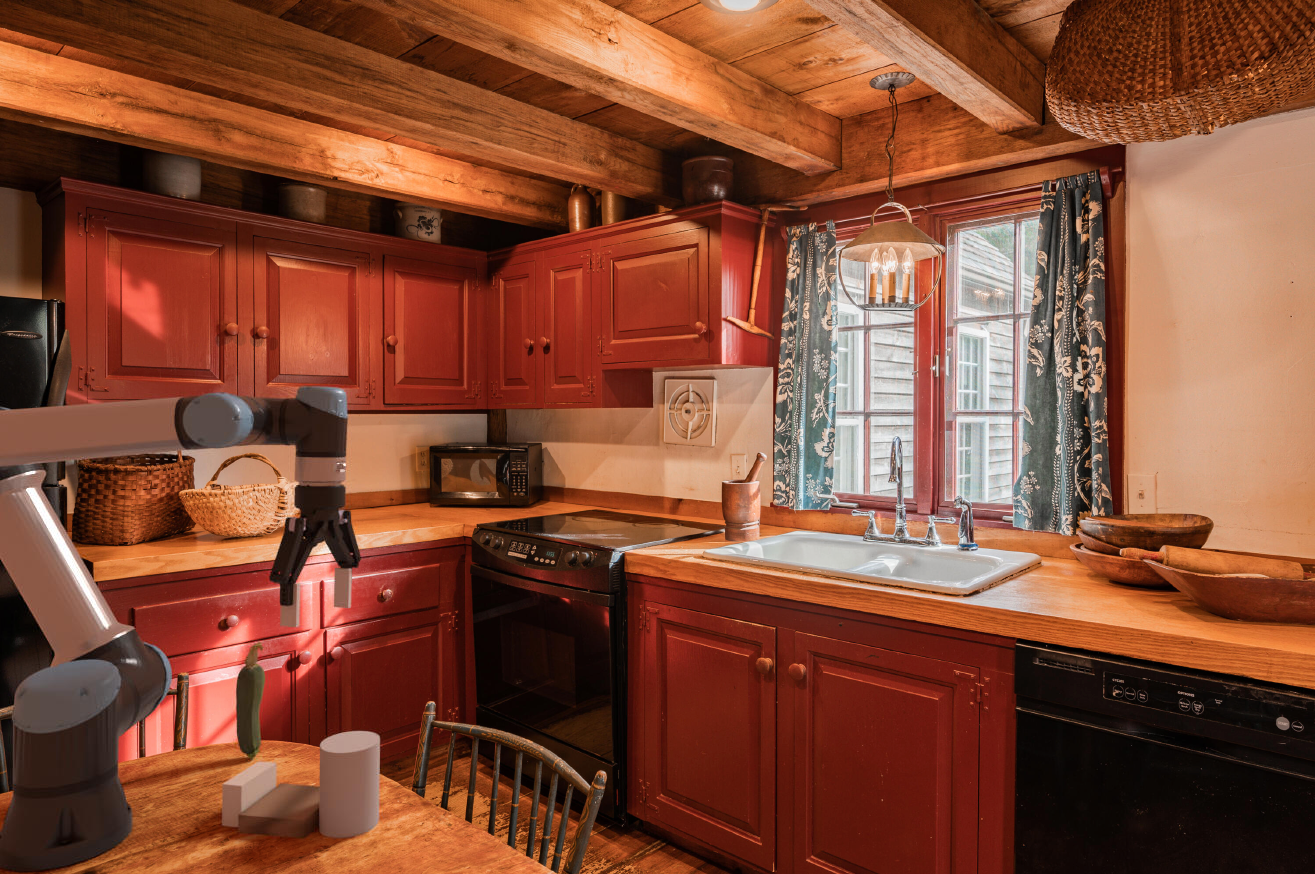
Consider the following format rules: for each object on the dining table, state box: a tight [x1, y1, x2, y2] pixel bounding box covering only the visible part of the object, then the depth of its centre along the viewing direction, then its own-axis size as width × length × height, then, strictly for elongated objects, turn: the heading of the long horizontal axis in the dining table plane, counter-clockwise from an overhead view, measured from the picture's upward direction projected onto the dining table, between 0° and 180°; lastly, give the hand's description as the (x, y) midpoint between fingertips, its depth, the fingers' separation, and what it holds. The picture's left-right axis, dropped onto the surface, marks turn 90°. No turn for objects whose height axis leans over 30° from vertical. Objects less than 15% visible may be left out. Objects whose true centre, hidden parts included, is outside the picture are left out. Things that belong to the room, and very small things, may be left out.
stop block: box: [221, 761, 277, 828], centre depth 118 cm, size 3×8×6 cm, turn 171°
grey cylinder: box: [318, 730, 381, 839], centre depth 116 cm, size 8×8×12 cm
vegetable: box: [235, 641, 266, 761], centre depth 138 cm, size 4×4×20 cm
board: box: [237, 783, 320, 839], centre depth 117 cm, size 10×10×3 cm
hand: (317, 616), depth 127 cm, fingers open, 13 cm apart
